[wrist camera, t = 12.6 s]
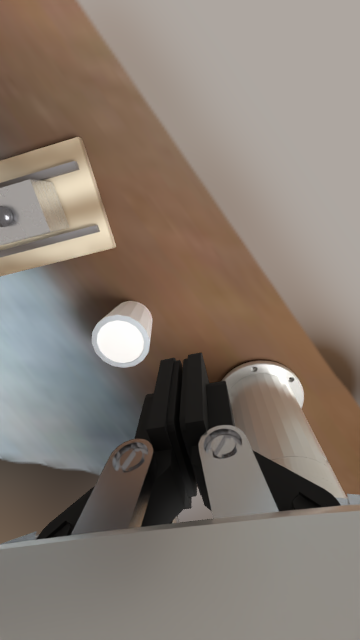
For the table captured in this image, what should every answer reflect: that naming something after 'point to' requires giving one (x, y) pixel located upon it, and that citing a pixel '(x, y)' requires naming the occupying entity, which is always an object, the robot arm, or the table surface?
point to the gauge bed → (75, 197)
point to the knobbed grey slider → (29, 211)
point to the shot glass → (123, 335)
